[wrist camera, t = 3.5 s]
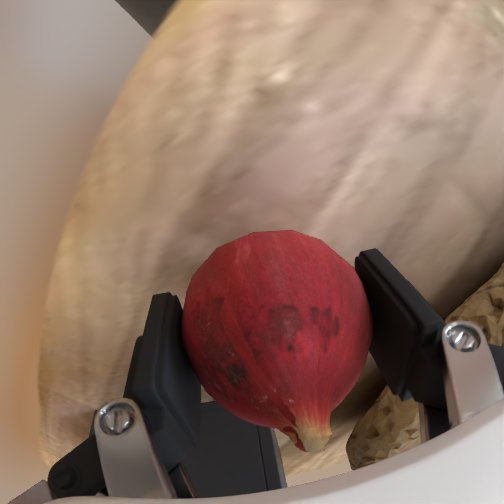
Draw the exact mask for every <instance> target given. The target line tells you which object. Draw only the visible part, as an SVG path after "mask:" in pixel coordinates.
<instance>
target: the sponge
mask: <svg viewBox="0 0 504 504" xmlns="http://www.w3.org/2000/svg"><path fill="white" fill-rule="evenodd" d="M443 321H444V322H445V323H446V324H449V323H451V322H454V321H467V322H471V323H473V324H475V325H477V326H478V327H479V328H480V329H481V330H482V332H483V333H484V335H485V338H486V340H487V343H489V344H493V345H498V346H502V347H504V262H503V264H502V265H501V268H500V269H499V270H498V272H497V273H495V274H494V275H493V277H492V278H491V279H490V280H489V281H487V282H486V283H485V284H484V285H482V286H481V287H480V288H479V289H478V290H477V291H476V292H475V293H473V294H472V295H471V296H469V297H468V298H467V299H465V301H464V303H463V304H462V305H460V306H459V307H458V308H457V309H456V310H455V311H454V312H452V313H450V314H449V315H448V316H447V317H446V318H445V319H444V320H443ZM420 444H421V433H420V418H419V406H418V402H415V401H414V399H413V398H411V399H408V400H406V401H403V402H401V400H400V398H399V396H398V395H393V394H392V392H391V390H390V388H389V386H388V385H387V386H386V387H385V388H384V390H383V392H382V393H381V395H380V396H379V397H378V398H377V399H376V400H375V404H374V405H373V406H372V407H371V408H370V409H369V410H368V411H367V413H366V414H365V415H364V416H363V417H362V418H360V419H359V420H358V422H357V423H356V425H355V427H354V429H353V431H352V433H351V435H350V437H349V439H348V441H347V444H346V452H347V455H348V458H349V462H350V465H351V469H352V470H356V469H359V468H362V467H365V466H368V465H371V464H374V463H377V462H379V461H382V460H385V459H387V458H390V457H392V456H395V455H397V454H400V453H402V452H405V451H407V450H409V449H412V448H414V447H416V446H418V445H420Z"/></svg>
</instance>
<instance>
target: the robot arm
mask: <svg viewBox="0 0 504 504" xmlns="http://www.w3.org/2000/svg"><path fill="white" fill-rule="evenodd" d="M355 271H356V273H357V275H358V276H359V278H360V280H361V282H362V284H363V287H364V290H365V293H366V295H367V298H368V301H369V304H370V307H371V312H372V317H373V334H372V340H371V344H370V348H369V351H370V353H371V355H372V356H373V358H374V360H375V362H376V364H377V366H378V367H379V369H380V371H381V373H382V375H383V377H384V379H385V381H386V382H387V384H388V386H389V388H390V390H391V392H392V394H393V395H398V396H399V398H400V400H401V402H403V401H406V400H408V399H411V398H413V399H414V401H415V402H418V406H419V418H420V433H421V444H420V445H418V446H416V447H414V448H412V449H409V450H407V451H405V452H402V453H400V454H397V455H395V456H392V457H390V458H387V459H385V460H382V461H379V462H377V463H374V464H371V465H368V466H365V467H362V468H359V469H356V470H353V471H351V472H347V473H344V474H340V475H337V476H333V477H330V478H326V479H322V480H318V481H315V482H310V483H306V484H302V485H297V486H292V487H287V488H282V489H277V490H271V491H265V492H259V493H252V494H244V495H235V496H225V497H213V498H200V496H199V494H198V492H197V490H196V488H195V486H194V484H193V482H192V480H191V477H190V475H189V473H188V471H187V469H186V467H185V464H184V462H183V459H184V458H185V457H186V456H187V451H195V450H196V442H197V441H201V383H200V381H199V380H198V378H197V376H196V373H195V371H194V369H193V367H192V364H191V362H190V360H189V357H188V355H187V353H186V350H185V348H184V345H183V343H182V333H181V320H182V315H183V309H182V307H181V304H180V301H179V299H178V297H177V295H174V296H172V294H171V293H170V292H167V293H161V294H156V295H153V297H152V301H151V305H150V309H149V312H148V316H147V320H146V324H145V329H144V333H143V336H139V337H138V338H137V340H136V343H135V347H134V351H133V355H132V359H131V364H130V368H129V372H128V377H127V381H126V386H125V391H124V396H123V398H116V399H112V400H110V401H108V402H106V403H105V404H104V405H103V406H102V407H100V409H99V410H98V412H97V413H96V416H95V419H94V428H95V433H94V434H93V435H91V436H90V437H89V438H88V439H86V440H85V441H84V442H82V443H81V444H80V445H79V446H77V447H76V448H75V449H73V450H72V451H71V452H70V453H68V454H67V455H66V456H64V457H63V458H62V459H60V460H59V461H58V462H56V463H55V464H54V465H53V466H52V468H51V470H50V472H49V475H48V481H47V482H46V481H45V480H41V481H40V482H39V483H37V484H35V485H34V486H33V487H31V488H30V489H28V490H27V491H25V492H24V493H22V494H21V495H19V496H18V497H16V498H15V499H13V500H12V501H10V502H9V503H8V504H504V347H502V346H498V345H493V344H489V343H487V340H486V338H485V335H484V333H483V332H482V330H481V329H480V328H479V327H478V326H477V325H475V324H473V323H471V322H467V321H454V322H451V323H449V324H446V323H445V322H444V321H443V320H442V318H441V317H440V316H439V315H438V314H437V312H436V311H435V310H434V309H433V308H432V307H431V306H430V304H429V303H428V302H427V301H426V300H425V299H424V298H423V297H422V295H421V294H420V293H419V292H418V291H417V290H416V289H415V288H414V287H413V285H412V284H411V283H410V282H409V281H408V280H406V279H405V278H404V277H403V276H402V275H401V273H400V272H399V271H398V270H397V269H396V268H395V267H394V266H393V265H392V264H391V263H390V262H389V261H388V260H387V259H386V258H385V257H384V256H383V254H382V253H381V252H380V251H379V250H378V249H376V248H374V249H370V250H365V251H361V252H360V254H359V256H358V257H356V258H355Z"/></svg>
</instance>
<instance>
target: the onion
mask: <svg viewBox="0 0 504 504" xmlns="http://www.w3.org/2000/svg"><path fill="white" fill-rule="evenodd" d="M181 333H182V343H183V345H184V348H185V350H186V353H187V355H188V357H189V360H190V362H191V364H192V367H193V369H194V371H195V373H196V376H197V378H198V380H199V381H200V383H201V384H202V386H203V387H204V389H205V390H206V392H207V393H208V394H209V395H210V396H211V397H212V398H213V399H214V400H215V401H216V402H217V403H218V404H220V405H221V406H222V407H224V408H225V409H226V410H228V411H229V412H231V413H232V414H234V415H236V416H238V417H239V418H241V419H243V420H245V421H248V422H250V423H253V424H256V425H260V426H265V427H270V428H277V429H278V430H280V431H281V432H283V433H284V434H286V435H287V436H289V437H290V439H291V440H292V441H293V442H294V445H295V446H296V447H297V448H299V449H300V450H302V451H305V452H319V451H324V450H325V447H326V443H327V441H328V440H329V438H330V437H331V435H332V432H331V429H330V425H329V423H330V414H331V411H332V410H334V409H335V408H336V407H337V406H338V405H339V404H340V403H341V402H342V400H343V399H344V398H345V397H346V396H347V394H348V393H349V392H350V390H351V389H352V388H353V387H354V385H355V384H356V382H357V380H358V378H359V377H360V375H361V373H362V370H363V367H364V365H365V362H366V359H367V355H368V351H369V348H370V344H371V340H372V334H373V317H372V312H371V307H370V304H369V301H368V298H367V295H366V293H365V290H364V287H363V284H362V282H361V280H360V278H359V276H358V275H357V273H356V271H355V269H354V267H353V266H351V265H350V264H349V263H348V262H347V261H345V260H344V259H343V258H342V257H341V256H339V255H338V254H337V253H336V252H335V251H333V250H332V249H331V248H330V247H329V246H327V245H326V244H325V243H324V242H323V241H321V240H320V239H317V238H314V237H310V236H307V235H304V234H301V233H298V232H295V231H292V230H285V231H267V232H253V233H250V234H248V235H246V236H244V237H241V238H239V239H237V240H234V241H232V242H230V243H228V244H225V245H223V246H221V247H219V248H216V249H215V251H214V252H213V253H212V254H211V255H210V256H209V258H208V259H207V260H206V261H205V262H204V263H203V265H202V266H201V267H200V268H199V269H198V271H197V272H196V273H195V274H194V275H193V277H192V279H191V282H190V285H189V287H188V290H187V293H186V298H185V304H184V309H183V315H182V320H181Z"/></svg>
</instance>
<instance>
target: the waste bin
mask: <svg viewBox="0 0 504 504" xmlns="http://www.w3.org/2000/svg"><path fill="white" fill-rule="evenodd" d="M97 412H98V410H96V411H95V413H94V418H93V421H92V425H91V430H90V434H89V437H90V436H91V435H93V434H94V433H95V428H94V419H95V416H96V413H97ZM183 462H184V464H185V467H186V469H187V471H188V473H189V475H190V477H191V480H192V482H193V484H194V486H195V488H196V490H197V492H198V494H199V496H200V498H213V497H225V496H235V495H244V494H252V493H259V492H265V491H271V490H277V489H282V488H287V483H286V478H285V473H284V468H283V464H282V459H281V454H280V450H279V446H278V443H277V439H276V435H275V432H274V428H270V427H265V426H260V425H256V424H253V423H250V422H248V421H245V420H243V419H241V418H239V417H238V416H236V415H234V414H232V413H231V412H229V411H228V410H226V409H225V408H224V407H222V406H221V405H220V404H218V403H217V402H208V403H201V441H197V442H196V450H195V451H187V456H186V457H185V458H184V459H183Z"/></svg>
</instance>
